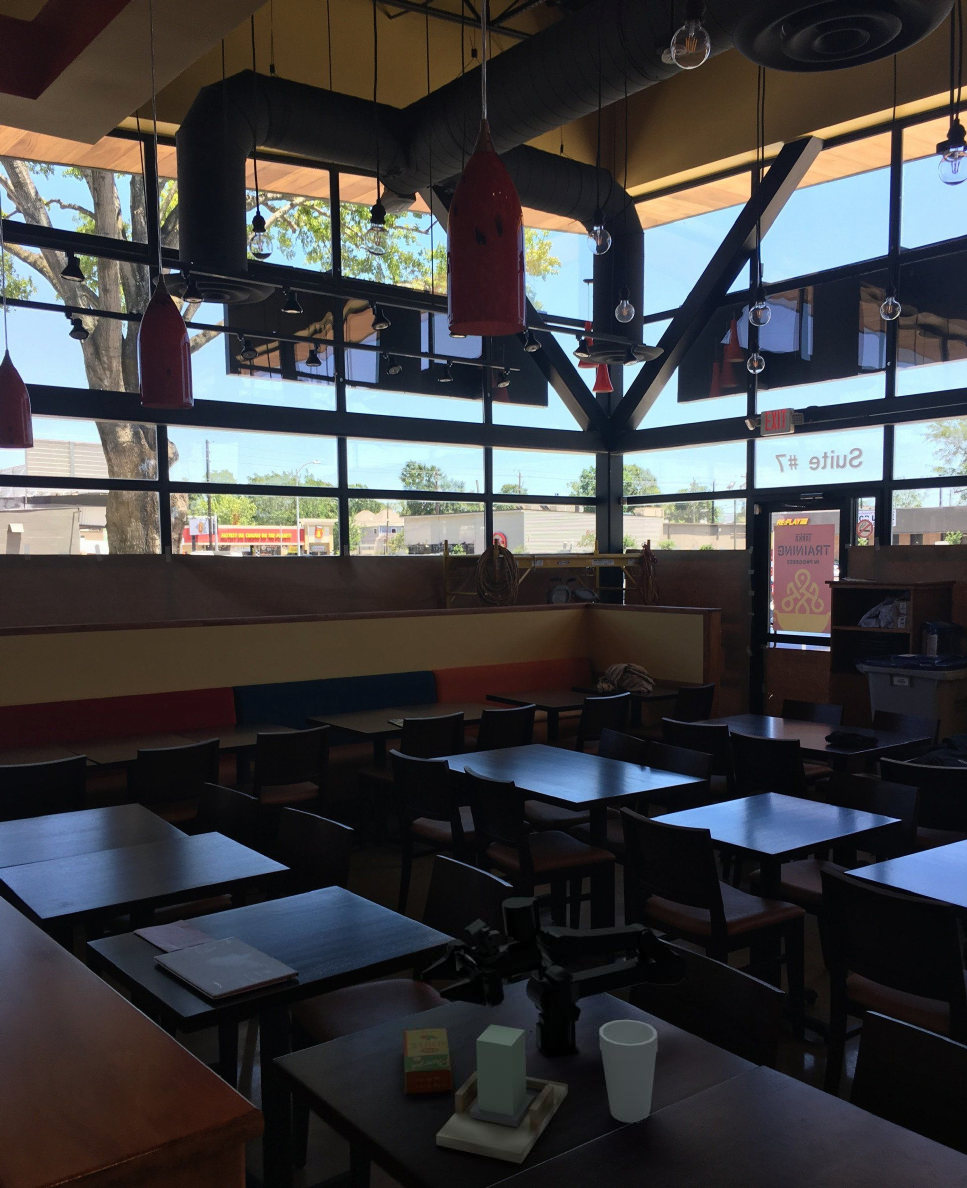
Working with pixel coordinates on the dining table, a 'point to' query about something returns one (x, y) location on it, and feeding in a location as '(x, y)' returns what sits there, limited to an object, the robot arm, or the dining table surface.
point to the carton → (426, 1061)
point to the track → (496, 1136)
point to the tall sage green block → (501, 1076)
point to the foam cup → (629, 1067)
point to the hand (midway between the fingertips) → (430, 984)
